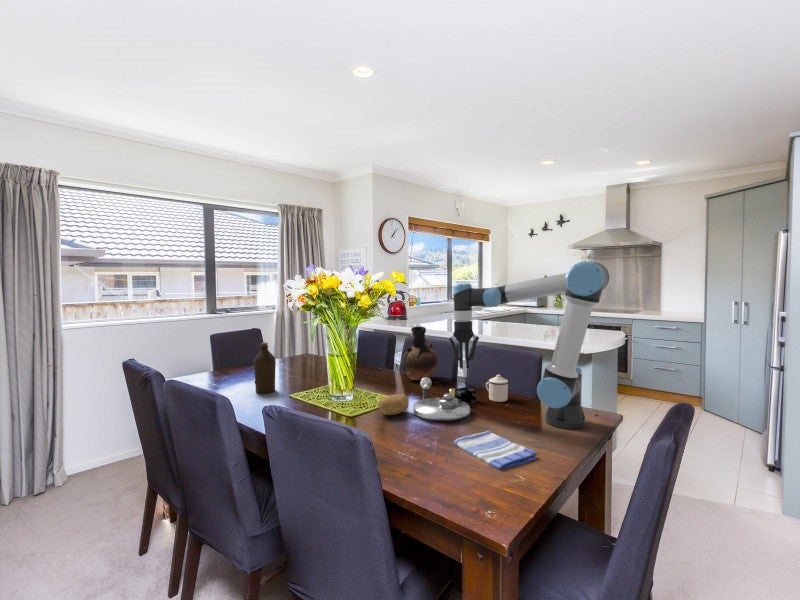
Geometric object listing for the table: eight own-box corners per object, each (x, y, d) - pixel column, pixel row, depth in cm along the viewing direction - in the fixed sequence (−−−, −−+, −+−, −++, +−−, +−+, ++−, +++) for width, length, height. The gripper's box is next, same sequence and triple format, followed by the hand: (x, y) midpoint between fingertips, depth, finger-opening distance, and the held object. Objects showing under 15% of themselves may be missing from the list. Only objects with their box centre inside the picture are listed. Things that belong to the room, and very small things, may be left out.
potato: (373, 414, 180) (373, 395, 179) (400, 408, 187) (400, 390, 187) (385, 420, 171) (385, 401, 171) (413, 414, 179) (413, 395, 179)
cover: (461, 405, 180) (461, 394, 180) (452, 410, 174) (452, 398, 173) (444, 402, 185) (444, 391, 184) (435, 407, 178) (435, 395, 178)
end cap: (467, 398, 201) (467, 384, 200) (477, 403, 195) (477, 388, 194) (450, 402, 196) (450, 387, 196) (459, 406, 190) (459, 391, 190)
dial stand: (431, 404, 192) (431, 377, 191) (421, 405, 191) (420, 378, 190) (429, 402, 196) (429, 375, 195) (418, 402, 195) (418, 376, 194)
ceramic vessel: (429, 374, 250) (429, 324, 248) (444, 381, 234) (444, 327, 232) (396, 378, 241) (396, 326, 239) (409, 385, 225) (409, 329, 223)
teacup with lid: (512, 399, 199) (512, 375, 198) (499, 403, 193) (499, 378, 193) (492, 394, 208) (492, 370, 208) (479, 397, 203) (480, 373, 202)
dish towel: (489, 435, 156) (489, 428, 156) (539, 460, 136) (539, 451, 136) (452, 445, 148) (452, 437, 148) (499, 472, 127) (499, 463, 127)
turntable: (453, 424, 163) (453, 407, 162) (402, 413, 176) (402, 396, 176) (479, 408, 183) (479, 392, 182) (431, 399, 196) (431, 384, 196)
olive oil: (280, 389, 218) (279, 341, 217) (267, 395, 208) (266, 345, 207) (263, 387, 222) (262, 340, 220) (250, 393, 212) (248, 344, 210)
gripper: (476, 319, 181) (478, 373, 182) (446, 320, 180) (447, 374, 182) (480, 320, 173) (481, 377, 174) (448, 321, 173) (450, 378, 174)
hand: (464, 376), depth 178 cm, fingers closed
